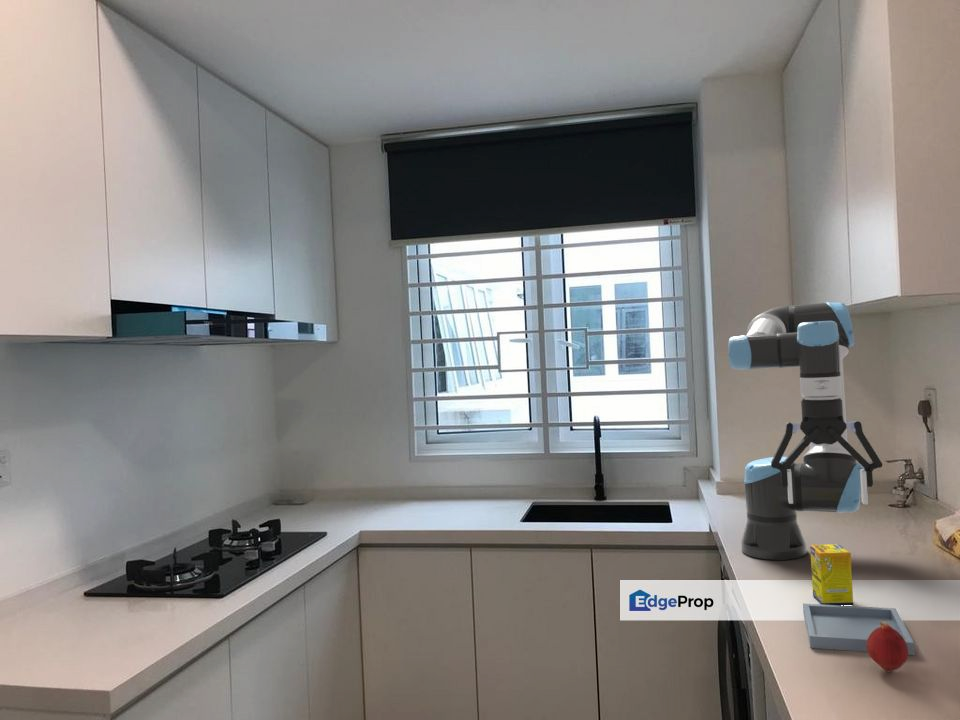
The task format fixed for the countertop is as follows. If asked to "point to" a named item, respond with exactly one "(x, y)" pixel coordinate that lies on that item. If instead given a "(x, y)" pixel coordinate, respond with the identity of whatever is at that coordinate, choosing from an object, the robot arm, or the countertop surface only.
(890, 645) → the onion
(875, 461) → the robot arm
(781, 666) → the countertop surface
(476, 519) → the countertop surface
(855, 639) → the slate tray
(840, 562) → the supplement box
